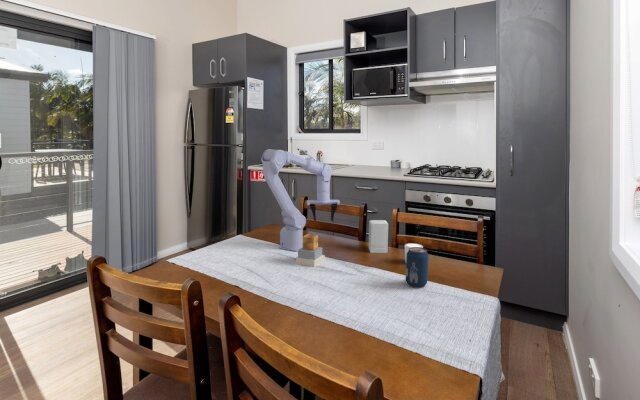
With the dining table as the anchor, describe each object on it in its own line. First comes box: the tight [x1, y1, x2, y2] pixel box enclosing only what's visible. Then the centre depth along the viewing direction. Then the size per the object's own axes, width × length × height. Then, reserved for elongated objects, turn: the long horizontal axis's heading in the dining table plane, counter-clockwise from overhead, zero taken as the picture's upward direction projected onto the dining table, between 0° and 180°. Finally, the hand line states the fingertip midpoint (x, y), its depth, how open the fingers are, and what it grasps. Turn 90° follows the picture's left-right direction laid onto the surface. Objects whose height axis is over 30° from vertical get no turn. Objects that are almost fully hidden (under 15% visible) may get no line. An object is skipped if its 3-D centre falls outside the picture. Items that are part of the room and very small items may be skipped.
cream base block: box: [295, 254, 326, 268], centre depth 151 cm, size 8×8×3 cm
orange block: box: [303, 233, 319, 251], centre depth 150 cm, size 4×4×5 cm
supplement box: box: [367, 219, 389, 254], centre depth 166 cm, size 7×7×13 cm
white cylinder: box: [404, 242, 424, 264], centre depth 151 cm, size 7×7×7 cm
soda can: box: [405, 247, 429, 289], centre depth 128 cm, size 7×7×12 cm
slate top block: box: [297, 246, 323, 260], centre depth 151 cm, size 7×7×3 cm
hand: (323, 220), depth 177 cm, fingers open, 7 cm apart
